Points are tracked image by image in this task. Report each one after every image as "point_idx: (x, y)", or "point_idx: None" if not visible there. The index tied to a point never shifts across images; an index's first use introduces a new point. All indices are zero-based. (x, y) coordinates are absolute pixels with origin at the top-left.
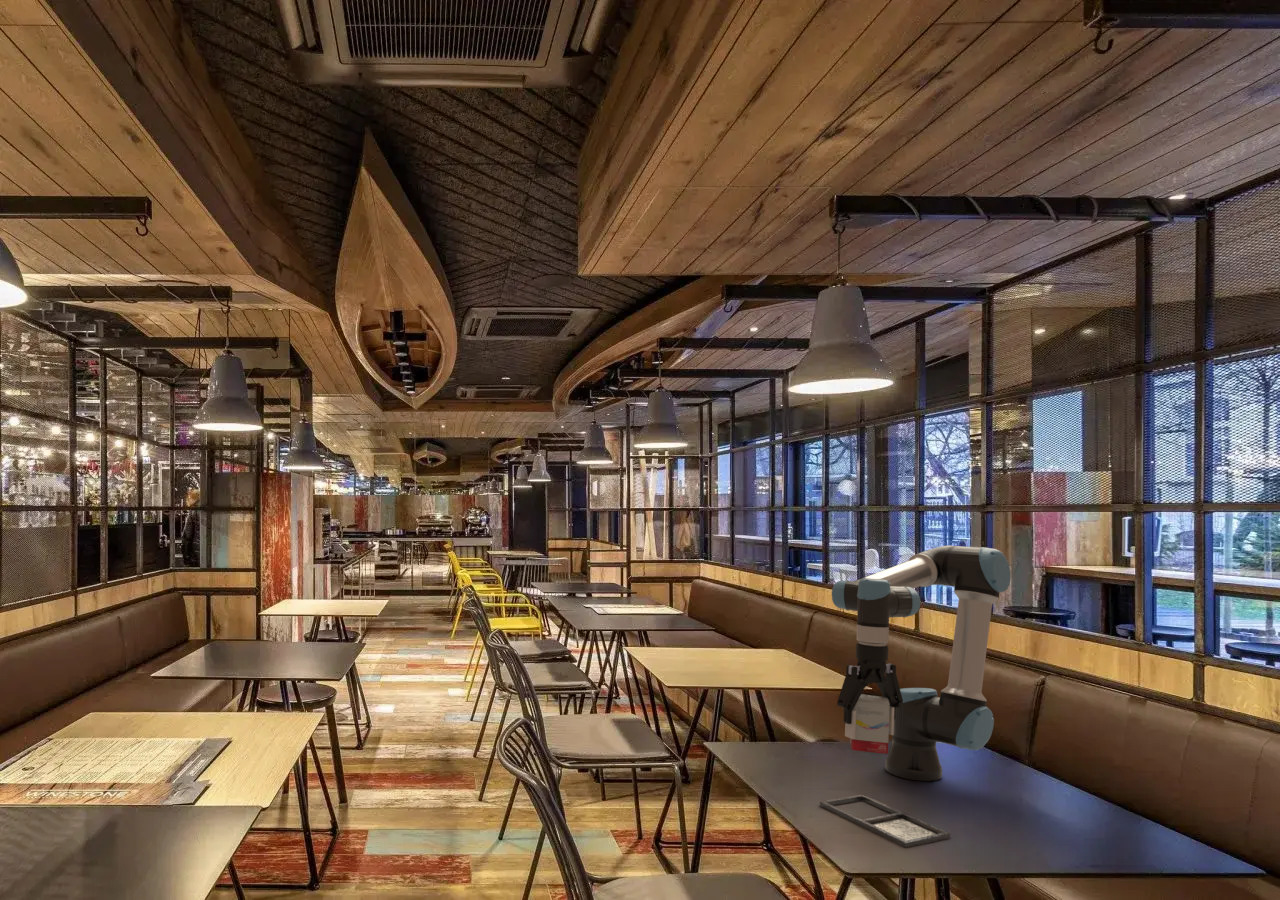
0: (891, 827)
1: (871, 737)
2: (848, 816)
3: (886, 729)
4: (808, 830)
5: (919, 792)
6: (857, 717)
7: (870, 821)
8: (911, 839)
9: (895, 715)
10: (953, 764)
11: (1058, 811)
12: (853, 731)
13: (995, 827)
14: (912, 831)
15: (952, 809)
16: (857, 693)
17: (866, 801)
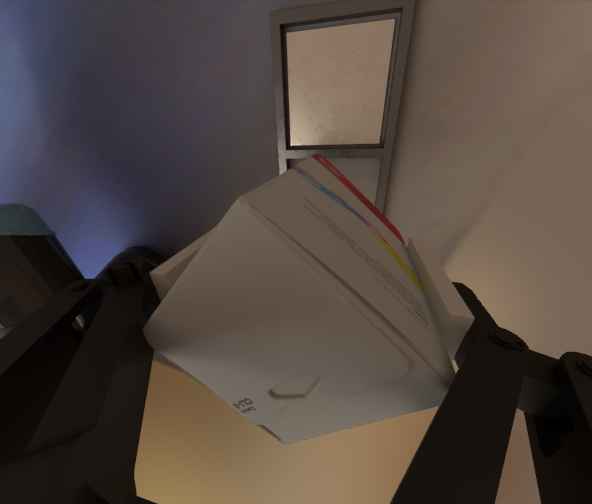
0: (346, 115)
1: (359, 204)
2: (386, 184)
3: (308, 168)
4: (510, 172)
5: (184, 226)
6: (414, 288)
7: (368, 148)
8: (383, 8)
9: (166, 259)
10: (87, 276)
11: (7, 68)
12: (429, 252)
13: (149, 38)
14: (323, 78)
15: (176, 149)
16: (497, 453)
17: None
